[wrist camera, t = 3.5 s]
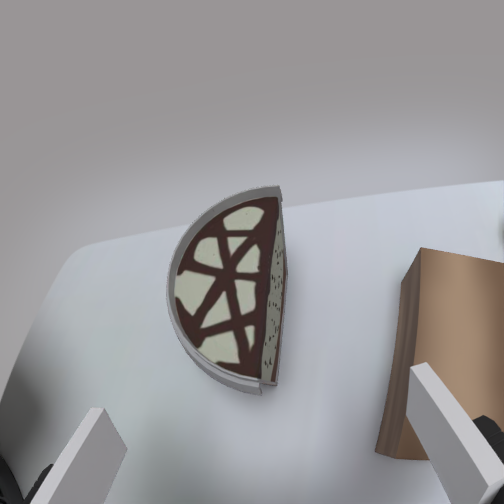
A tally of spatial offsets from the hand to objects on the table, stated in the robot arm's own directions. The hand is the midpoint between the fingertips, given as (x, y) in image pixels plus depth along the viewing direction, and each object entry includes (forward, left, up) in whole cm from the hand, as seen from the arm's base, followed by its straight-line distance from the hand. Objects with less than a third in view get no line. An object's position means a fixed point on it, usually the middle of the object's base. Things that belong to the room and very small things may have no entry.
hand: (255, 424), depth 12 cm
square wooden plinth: (+15, +5, -11) cm, 20 cm away
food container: (-4, +7, -11) cm, 14 cm away
